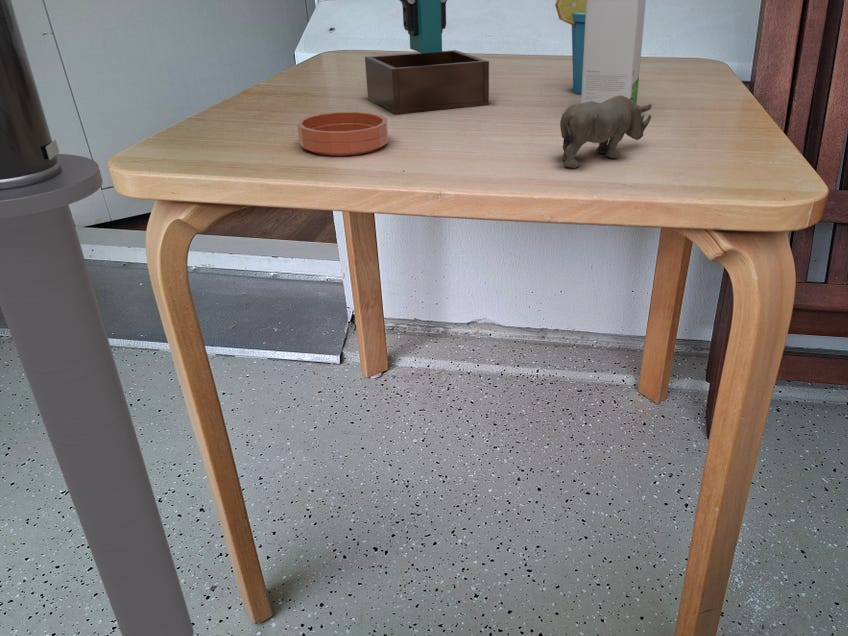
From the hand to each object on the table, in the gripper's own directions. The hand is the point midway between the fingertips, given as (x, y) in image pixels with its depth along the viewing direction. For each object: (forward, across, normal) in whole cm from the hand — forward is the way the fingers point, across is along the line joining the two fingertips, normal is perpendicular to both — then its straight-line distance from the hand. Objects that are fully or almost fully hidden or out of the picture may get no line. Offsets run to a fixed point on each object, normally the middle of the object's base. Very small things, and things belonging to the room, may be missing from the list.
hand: (425, 33), depth 98 cm
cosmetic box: (+9, -18, +17) cm, 26 cm away
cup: (+9, -25, +4) cm, 27 cm away
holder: (+9, 0, 0) cm, 9 cm away
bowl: (+9, +17, +17) cm, 26 cm away
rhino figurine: (+9, -7, +33) cm, 35 cm away
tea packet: (+2, 0, 0) cm, 2 cm away
